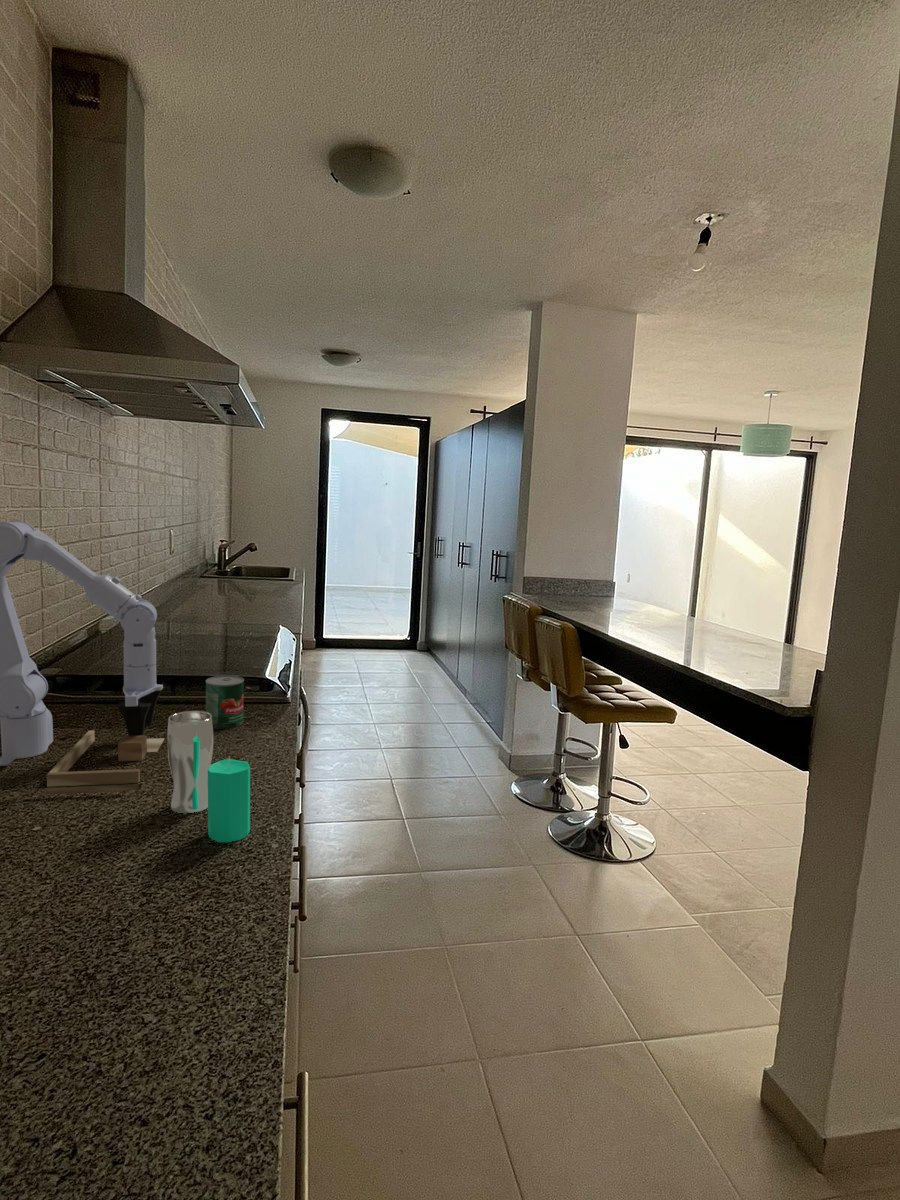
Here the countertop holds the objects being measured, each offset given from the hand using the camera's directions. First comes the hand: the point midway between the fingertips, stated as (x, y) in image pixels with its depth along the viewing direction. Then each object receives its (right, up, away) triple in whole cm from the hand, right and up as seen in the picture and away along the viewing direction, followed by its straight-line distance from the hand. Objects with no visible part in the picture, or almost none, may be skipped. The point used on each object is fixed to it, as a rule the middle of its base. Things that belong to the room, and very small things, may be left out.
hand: (140, 731), depth 129 cm
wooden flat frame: (-1, -5, -7) cm, 9 cm away
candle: (+27, -9, -30) cm, 42 cm away
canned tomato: (+11, -3, +15) cm, 19 cm away
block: (+1, -4, -6) cm, 7 cm away
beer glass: (+18, -8, -22) cm, 30 cm away
